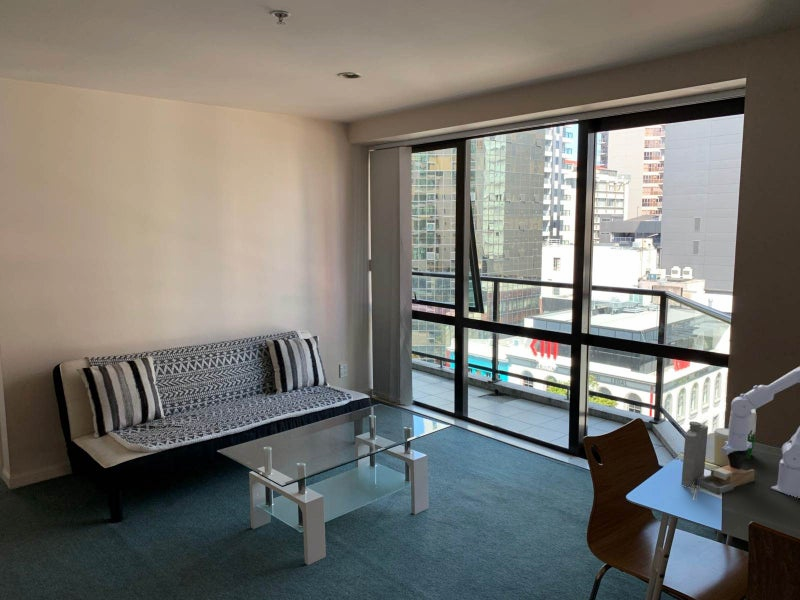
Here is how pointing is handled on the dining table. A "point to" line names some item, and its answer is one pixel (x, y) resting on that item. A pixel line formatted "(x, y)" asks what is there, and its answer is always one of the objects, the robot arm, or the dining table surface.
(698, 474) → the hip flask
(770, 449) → the dining table surface
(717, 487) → the tray
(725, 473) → the tile
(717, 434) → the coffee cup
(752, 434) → the milk carton
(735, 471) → the tile
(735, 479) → the board
